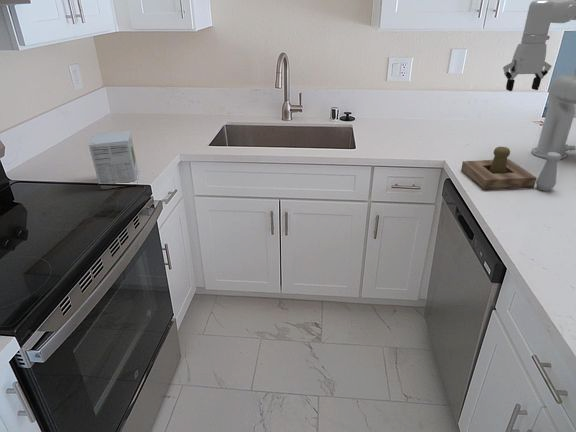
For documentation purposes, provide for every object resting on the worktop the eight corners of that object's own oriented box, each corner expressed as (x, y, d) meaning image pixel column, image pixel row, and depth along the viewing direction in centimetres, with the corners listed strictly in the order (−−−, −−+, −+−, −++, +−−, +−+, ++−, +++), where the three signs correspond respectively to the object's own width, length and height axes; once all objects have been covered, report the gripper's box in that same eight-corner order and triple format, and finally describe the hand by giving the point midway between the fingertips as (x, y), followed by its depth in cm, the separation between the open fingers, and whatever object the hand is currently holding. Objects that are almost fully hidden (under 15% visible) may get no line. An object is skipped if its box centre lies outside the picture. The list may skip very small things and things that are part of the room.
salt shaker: (547, 185, 147) (558, 150, 140) (557, 192, 142) (568, 155, 135) (531, 185, 147) (540, 150, 140) (540, 192, 142) (550, 156, 135)
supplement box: (137, 186, 154) (128, 140, 146) (99, 191, 151) (87, 144, 143) (139, 173, 165) (130, 130, 157) (104, 177, 162) (93, 133, 154)
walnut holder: (506, 168, 161) (508, 159, 159) (533, 188, 145) (536, 177, 143) (460, 171, 160) (462, 161, 158) (483, 190, 144) (485, 179, 142)
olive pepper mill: (486, 178, 151) (493, 149, 146) (487, 172, 156) (494, 144, 150) (505, 180, 148) (512, 151, 143) (505, 174, 153) (512, 146, 148)
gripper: (551, 38, 149) (538, 87, 157) (504, 39, 148) (493, 88, 156) (564, 40, 143) (550, 91, 151) (515, 41, 142) (504, 93, 150)
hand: (521, 89), depth 154 cm, fingers open, 9 cm apart
